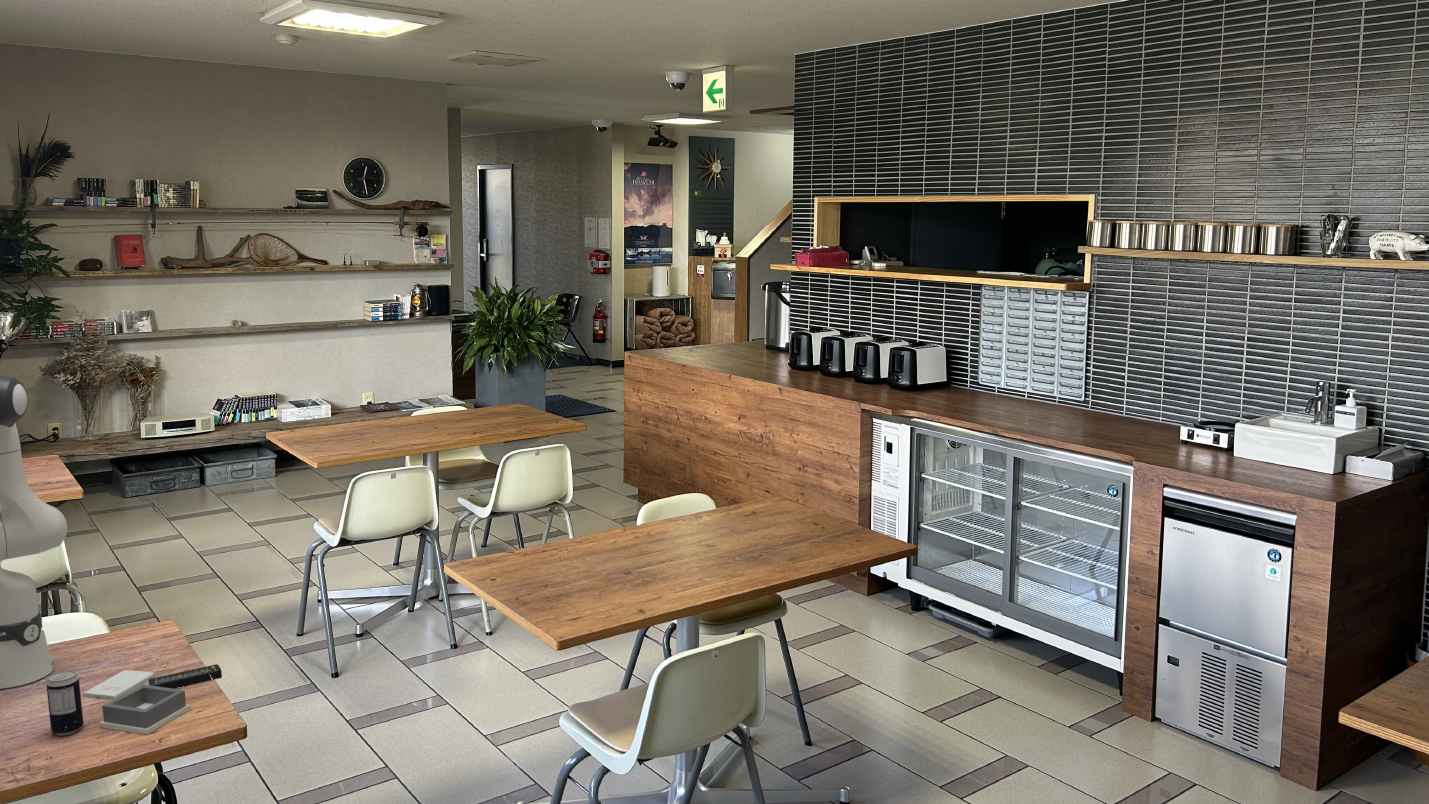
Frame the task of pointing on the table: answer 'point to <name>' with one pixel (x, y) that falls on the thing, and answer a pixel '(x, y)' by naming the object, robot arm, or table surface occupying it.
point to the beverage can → (64, 703)
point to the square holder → (144, 709)
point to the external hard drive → (118, 684)
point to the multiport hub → (187, 677)
